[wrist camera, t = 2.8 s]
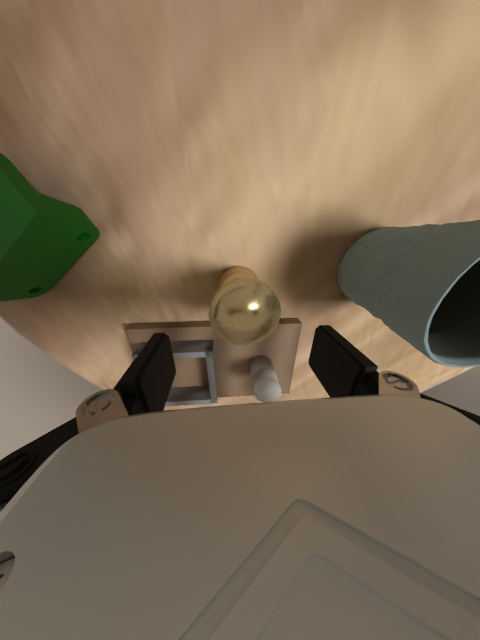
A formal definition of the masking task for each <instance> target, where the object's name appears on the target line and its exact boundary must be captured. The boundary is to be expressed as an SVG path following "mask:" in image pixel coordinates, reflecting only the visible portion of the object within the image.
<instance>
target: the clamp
mask: <svg viewBox="0 0 480 640" xmlns="http://www.w3.org/2000/svg"><path fill="white" fill-rule="evenodd" d="M99 235H100V233H99V230H98V229H97V228H96V227H95V226H94V224H93V223H92V222H91V221H90V220H89V218H88V217H87V216H86V215H85V214H84V213H83V211H82V210H81V209H80V208H78V207H76V206H73V205H71V204H68V203H65V202H62V201H59V200H57V199H54V198H51V197H48V196H45V195H43V194H40V193H38V192H37V191H36V190H35V189H34V188H33V187H32V186H31V184H30V183H29V182H28V181H27V180H26V179H25V178H24V176H23V175H22V174H21V173H20V172H19V171H18V170H17V168H16V167H15V166H14V165H13V164H12V163H11V162H10V160H9V159H8V158H7V157H5V156H4V155H3V154H1V153H0V302H1V301H9V300H17V299H25V298H32V297H36V296H39V295H42V294H44V293H46V292H48V291H49V290H50V289H51V288H52V287H53V286H54V285H55V284H56V283H57V282H58V281H59V280H60V278H61V277H62V276H63V275H64V274H65V273H66V272H67V271H68V270H69V269H70V268H71V267H72V266H73V265H74V263H75V262H76V261H77V260H78V259H79V258H80V257H81V256H82V255H83V254H84V253H85V252H86V251H87V250H88V248H89V247H90V246H91V245H92V244H93V243H94V242H95V241H96V240H97V239H98V237H99Z"/></svg>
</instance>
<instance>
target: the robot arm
mask: <svg viewBox="0 0 480 640" xmlns="http://www.w3.org/2000/svg"><path fill="white" fill-rule="evenodd" d="M309 365H310V367H311V369H312V370H313V372H314V373H315V375H316V376H317V378H318V379H319V381H320V382H321V384H322V385H323V387H324V389H325V390H326V392H327V393H328V395H329V396H330V398H316V399H302V400H289V401H275V402H262V403H249V404H237V405H225V406H213V407H200V408H188V409H177V410H166V411H163V410H164V407H165V404H166V401H167V398H168V395H169V392H170V389H171V386H172V384H173V381H174V378H175V375H176V367H175V362H174V358H173V353H172V348H171V344H170V339H169V336H168V335H166V334H165V333H154V334H153V335H152V336H151V338H150V339H149V341H148V342H147V343H146V345H145V346H144V348H143V349H142V350H141V352H140V353H139V355H138V356H137V357H136V358H135V360H134V361H133V362H132V364H131V365H130V366H129V368H128V369H127V371H126V372H125V373H124V375H123V376H122V378H121V379H120V380H119V382H118V383H117V385H116V386H115V387H114V389H106V390H102V391H99V392H96V393H94V394H93V395H91V396H89V397H88V398H86V399H85V400H84V401H83V402H82V403H81V404H80V405H79V406H78V408H77V410H76V417H75V418H73V419H72V420H70V421H68V422H66V423H64V424H63V425H61V426H59V427H57V428H55V429H54V430H52V431H50V432H48V433H47V434H45V435H43V436H41V437H39V438H38V439H36V440H34V441H32V442H30V443H29V444H27V445H25V446H23V447H22V448H20V449H18V450H16V451H14V452H13V453H11V454H9V455H8V456H6V457H5V458H3V459H2V460H0V640H480V416H477V415H475V414H472V413H470V412H467V411H465V410H462V409H459V408H457V407H454V406H452V405H449V404H446V403H444V402H441V401H439V400H436V399H434V398H431V397H428V396H425V395H423V394H420V393H419V389H418V387H417V385H416V384H415V383H414V382H413V381H412V380H410V379H409V378H407V377H405V376H404V375H401V374H399V373H396V372H392V371H381V372H380V373H378V372H377V371H376V370H377V368H378V366H377V365H375V364H374V363H373V362H372V361H371V360H370V359H368V358H367V357H366V356H365V355H364V354H363V353H361V352H360V351H359V350H358V349H357V348H355V347H354V346H353V345H352V344H351V343H350V342H348V341H347V340H346V339H345V338H344V337H343V336H341V335H340V334H339V333H338V332H337V331H336V330H334V329H333V328H332V327H331V326H329V325H321V326H319V327H318V328H316V330H315V335H314V339H313V344H312V348H311V353H310V358H309Z"/></svg>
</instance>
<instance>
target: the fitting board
mask: <svg viewBox="0 0 480 640" xmlns="http://www.w3.org/2000/svg"><path fill="white" fill-rule="evenodd" d="M301 326H302V323H301V322H300V320H299V319H298V318H287V319H280V320H279V323H278V325H277V327H276V329H275V330H274V331H273V333H272V334H271V335H270V336H268V337H267V338H266V339H264V340H263V341H261V342H258V343H256V344H252V345H245V346H243V345H234V344H231V343H228V342H226V341H224V340H223V339H221V338H220V337H219V336H218V335H217V334H216V333H215V332H214V330H213V328H212V326H211V324H210V321H197V322H167V323H136V324H130V325H129V326H128V327H127V328H126V329H125V331H126V334H127V337H128V340H129V342H130V345H131V348H132V351H133V354H132V357H133V359H134V360H135V358H136V357H137V356H138V355H139V353H140V352H141V350H142V349H143V348H144V346H145V345H146V343H147V342H148V341H149V339H150V338H151V336H152V335H153V334H154V333H165V334H166V335H168V336H169V339H170V344H171V348H172V353H173V358H174V362H175V367H176V375H175V378H174V381H173V384H172V386H171V389H170V392H169V395H168V398H167V401H166V404H165V406H177V405H193V404H210V403H217V397H232V396H249V395H255V397H256V398H257V399H258V400H259V401H262V402H270V401H273V400H275V399H277V398H278V397H279V396H280V395H281V394H283V393H289V390H290V385H291V379H292V374H293V368H294V363H295V358H296V352H297V347H298V342H299V336H300V331H301Z"/></svg>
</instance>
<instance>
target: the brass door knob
mask: <svg viewBox="0 0 480 640" xmlns="http://www.w3.org/2000/svg"><path fill="white" fill-rule="evenodd" d="M280 315H281V309H280V304H279V301H278V298H277V297H276V295H275V294H274V292H273V291H272V290H271V289H270V287H269V286H267V285H266V284H265V283H263V282H262V281H260V280H259V279H258V277H257V276H256V274H255V273H254V272H253V271H252V270H251V269H249V268H247V267H243V266H235V267H232V268H230V269H228V270H226V271H225V272H224V273H223V274H222V276H221V278H220V280H219V285H218V290H217V291H216V293H215V294H214V296H213V298H212V301H211V305H210V309H209V320H210V324H211V326H212V328H213V330H214V332H215V333H216V334H217V335H218V336H219V337H220V338H221V339H223V340H224V341H226V342H228V343H231V344H234V345H243V346H245V345H252V344H256V343H258V342H261V341H263V340H264V339H266V338H267V337H268V336H270V335H271V334H272V333H273V331H274V330H275V329H276V327H277V325H278V323H279V320H280Z"/></svg>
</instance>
